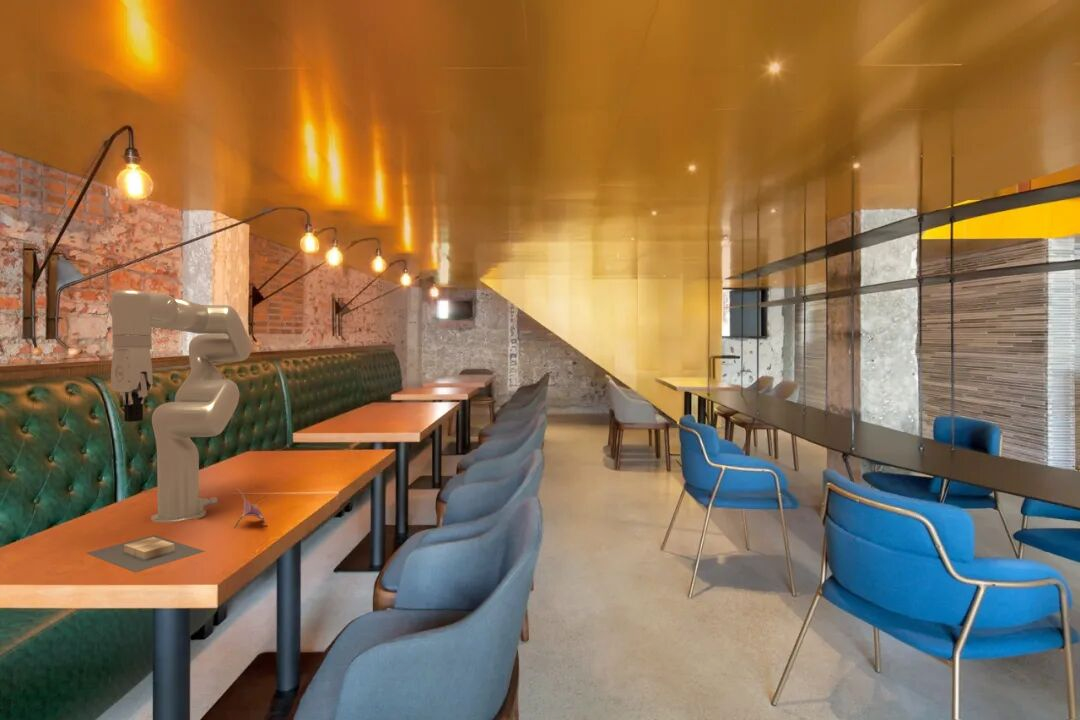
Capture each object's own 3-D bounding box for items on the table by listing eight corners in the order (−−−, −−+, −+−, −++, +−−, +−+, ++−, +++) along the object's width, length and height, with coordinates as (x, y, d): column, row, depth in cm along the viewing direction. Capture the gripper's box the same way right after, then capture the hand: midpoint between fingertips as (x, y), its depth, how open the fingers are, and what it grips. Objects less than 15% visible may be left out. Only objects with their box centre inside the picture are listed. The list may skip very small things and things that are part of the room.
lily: (258, 538, 142) (276, 501, 146) (210, 522, 140) (230, 485, 144) (265, 539, 153) (282, 504, 157) (221, 524, 151) (240, 489, 155)
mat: (154, 538, 139) (154, 535, 139) (205, 554, 128) (205, 551, 128) (85, 556, 127) (85, 552, 127) (135, 576, 116) (135, 572, 116)
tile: (153, 537, 132) (174, 543, 127) (153, 545, 132) (174, 552, 127) (123, 544, 127) (144, 552, 122) (123, 553, 127) (144, 561, 122)
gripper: (98, 343, 136) (100, 420, 136) (130, 343, 128) (131, 424, 128) (134, 343, 142) (135, 417, 142) (166, 343, 134) (167, 421, 135)
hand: (133, 420), depth 135 cm, fingers closed
